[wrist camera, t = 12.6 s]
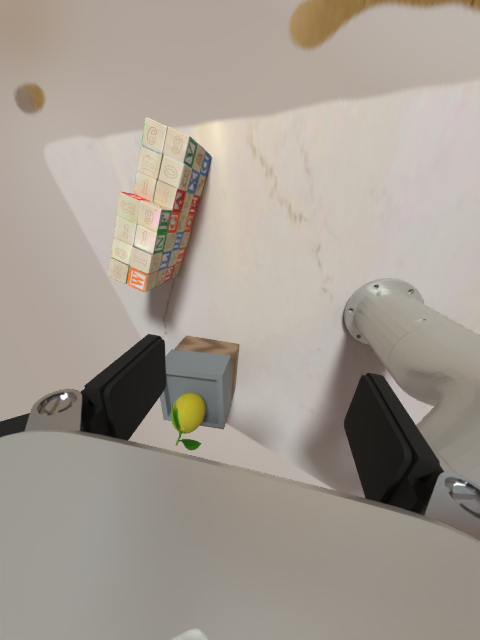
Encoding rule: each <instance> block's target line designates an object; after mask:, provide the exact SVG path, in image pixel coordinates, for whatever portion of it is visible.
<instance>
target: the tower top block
mask: <svg viewBox="0 0 480 640" xmlns="http://www.w3.org/2000/svg"><path fill="white" fill-rule="evenodd" d="M165 362H166V388H165V390H164V391H163V393H162V394H161V396H160V399H161V406H162V412H163V418H164V420H168V421H172V420H171V408H172V401H173V406H174V403H175V402H176V400H177V399H178V398H179V397H180V396H181V395H183V394H185V393H189V392H191V393H196V394H198V395H200V396H201V397H202V399H203V400H204V403H205V415H204V418H203V421H202V423H201V424H200V426H208V427H213V428H219V429H224V427H225V423H226V420H227V417H228V413H229V410H230V406H231V355H222V354H212V353H203V352H193V351H183V350H174V349H172V350H171V351H170V352H169V353H168V354H167V356H166V357H165Z"/></svg>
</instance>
